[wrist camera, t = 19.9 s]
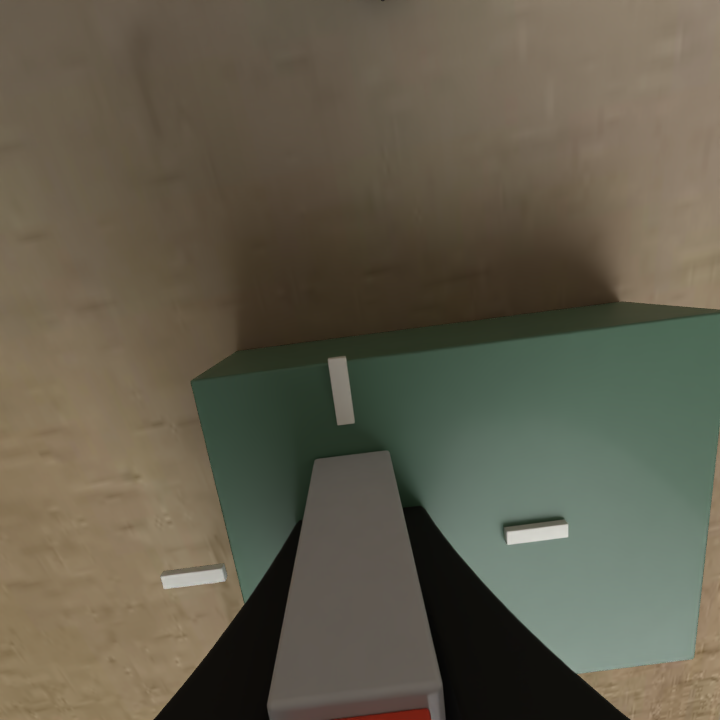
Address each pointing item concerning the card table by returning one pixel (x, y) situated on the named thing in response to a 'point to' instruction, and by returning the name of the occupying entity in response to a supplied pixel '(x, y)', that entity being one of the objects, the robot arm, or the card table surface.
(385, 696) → the tap knob
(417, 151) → the card table surface
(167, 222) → the card table surface
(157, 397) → the card table surface
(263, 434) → the panel
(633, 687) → the card table surface
